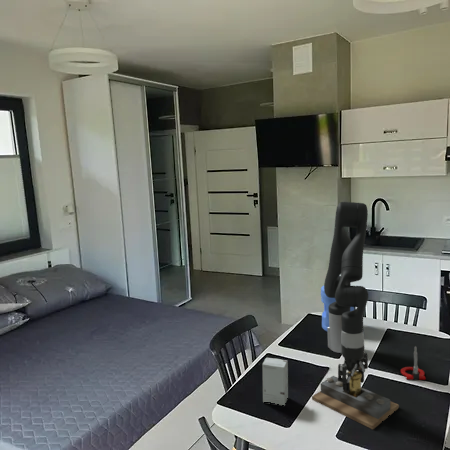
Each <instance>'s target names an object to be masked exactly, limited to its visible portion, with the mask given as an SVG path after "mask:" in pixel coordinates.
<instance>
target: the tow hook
mask: <svg viewBox="0 0 450 450" xmlns="http://www.w3.org/2000/svg"><path fill="white" fill-rule="evenodd" d="M413 350H414V351H413V366H405V367H402V368H401V369H400V373H401V375H403V376H404V377H405V378H406V380H412V381H422V380H423V381H425V380H426V376H425V371H424V370H423V369H420V368H419V366H418V351H417V346H414V348H413ZM407 371H412V373H411V374H410V373H408V372H407Z"/></svg>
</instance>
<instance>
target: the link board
mask: <svg viewBox="0 0 450 450" xmlns="http://www.w3.org/2000/svg"><path fill="white" fill-rule="evenodd" d="M311 399H312V401H314V402H316V403H318V404H320V405H322V406H324V407H326V408H328V409H330V410H333V411H335V412H336V413H338V414H341V415H342V416H345V417H347V418H349V419H351V420H353V421H354V422H357V423H359V424H360V425H362V426H365V427H367V428H369V429H371V430H375V429H376V428H377V427H378V426H379V425H380V424H382V423H383V422H384V421H385V420H386V419H388V418H389V417H390V416H391V415H392V414H393V413H394V411H395V412H396V411H398V409H399V407H400V405H399V404H398V403H395V402H394V401H391V399H390V398H388V397H385V396H383V395H380V394H378V393H376V392H373V391H371V390H368V389H366V388H364V387H361V395H359V396H358V397H354V396H352V395H349V393H347V392H345V391H344V390H343V382H340V381H338V376H336V375H332V376H330V377H327V378H326V380H324V381H322V382H321V383H320V390H319V391H318V392H317V393H315V394H313V395H312V396H311ZM389 415H390V416H389ZM388 416H389V417H388ZM382 421H383V422H382Z"/></svg>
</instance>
